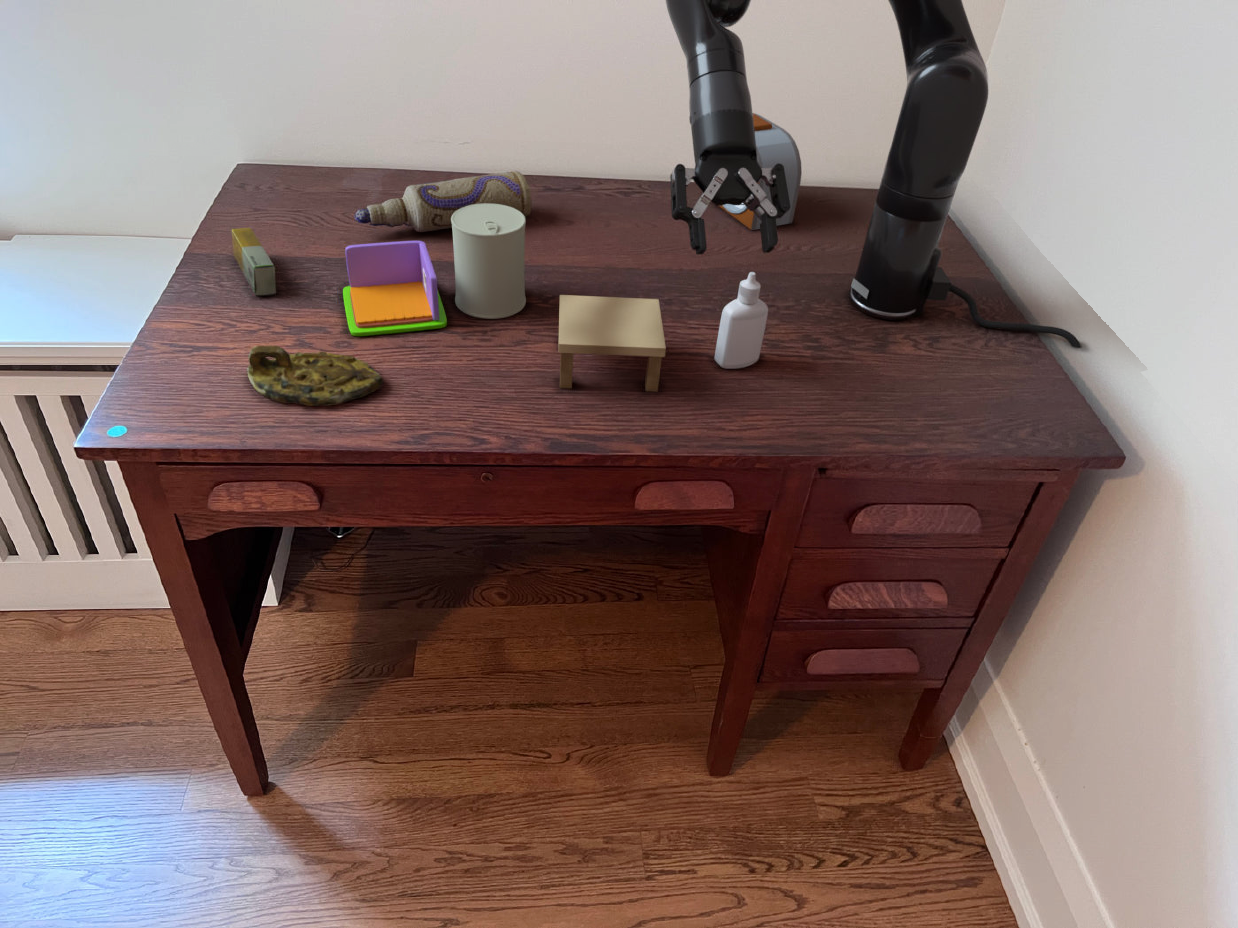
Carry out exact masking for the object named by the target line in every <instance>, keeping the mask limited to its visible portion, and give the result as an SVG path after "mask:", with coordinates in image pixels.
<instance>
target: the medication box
mask: <svg viewBox="0 0 1238 928" xmlns="http://www.w3.org/2000/svg"><path fill="white" fill-rule="evenodd" d="M230 230H231V242H232V253H233V255H232V256H233V257H234V259H235V261H236V262H237V264H238V266H239V268H240V271H242V273H243V275H244V277H245V279H246V281H247V283H248V284H249V286H250V288H251V290H252V292H253V293H254V295H255V297H268V296H275V295H276V294H277V285H276V284H277V283H276V266H275V265H274V263H273V261H272V260H271V258H270V256H269V255H268V253H267V252H266V250H265V248H264V247H263V245H262V243H261V242H260V240H259V239H258V237H257V235H256V233H255V232H254V230H253V229H252V228H251V227H240V228H239V227H237V228H231V229H230Z"/></svg>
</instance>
